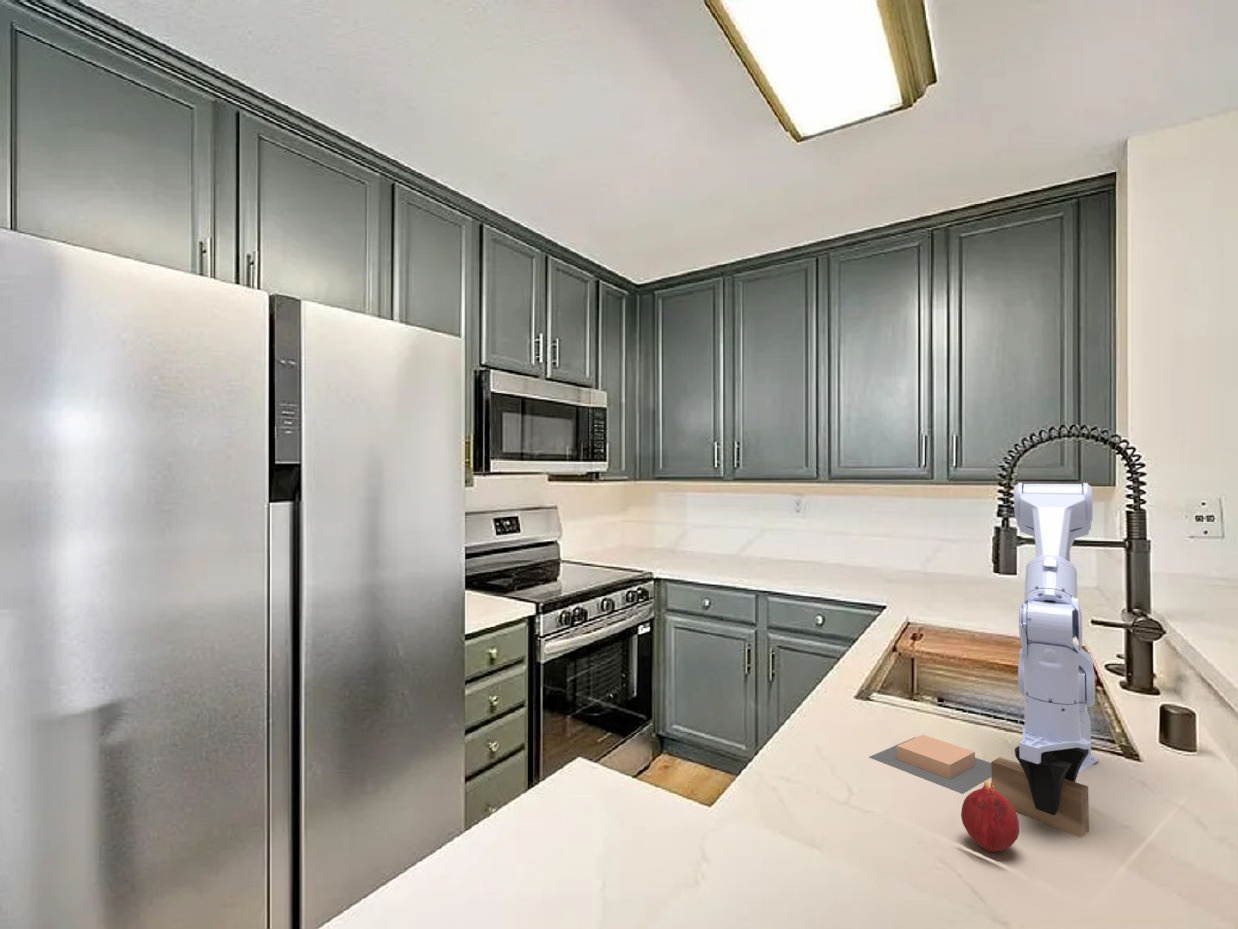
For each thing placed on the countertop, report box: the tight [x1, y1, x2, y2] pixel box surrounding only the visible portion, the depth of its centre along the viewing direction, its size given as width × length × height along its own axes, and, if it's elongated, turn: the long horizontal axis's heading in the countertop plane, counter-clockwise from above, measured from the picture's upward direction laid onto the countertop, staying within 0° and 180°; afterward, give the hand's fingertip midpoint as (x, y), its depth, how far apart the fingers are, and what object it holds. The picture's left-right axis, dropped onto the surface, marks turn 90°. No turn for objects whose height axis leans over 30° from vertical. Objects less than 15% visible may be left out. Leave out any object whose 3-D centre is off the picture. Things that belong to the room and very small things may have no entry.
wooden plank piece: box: [990, 757, 1090, 838], centre depth 78 cm, size 2×10×6 cm, turn 36°
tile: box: [897, 734, 976, 779], centre depth 94 cm, size 8×2×8 cm
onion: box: [960, 779, 1020, 853], centre depth 71 cm, size 6×6×8 cm
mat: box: [868, 736, 992, 795], centre depth 94 cm, size 14×14×1 cm
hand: (1052, 806), depth 77 cm, fingers open, 4 cm apart
